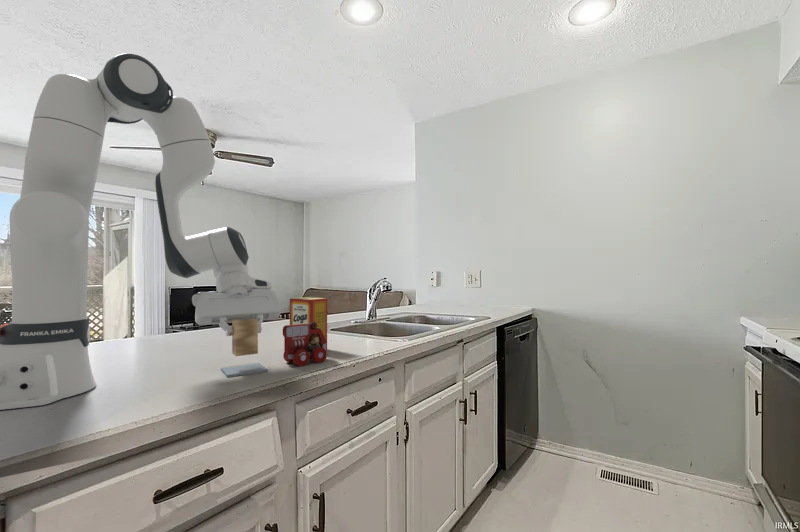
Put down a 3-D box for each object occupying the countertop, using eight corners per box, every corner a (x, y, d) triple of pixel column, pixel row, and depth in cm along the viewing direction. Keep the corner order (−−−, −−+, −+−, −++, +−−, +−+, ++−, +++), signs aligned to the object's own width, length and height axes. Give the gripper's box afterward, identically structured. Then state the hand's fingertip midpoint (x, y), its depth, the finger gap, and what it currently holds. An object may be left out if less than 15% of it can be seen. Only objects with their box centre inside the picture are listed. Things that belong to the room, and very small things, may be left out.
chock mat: (227, 377, 87) (227, 375, 87) (220, 369, 94) (220, 367, 94) (267, 371, 93) (267, 369, 93) (258, 364, 99) (258, 362, 99)
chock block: (235, 356, 90) (235, 322, 91) (232, 353, 94) (232, 320, 94) (257, 353, 93) (257, 320, 93) (253, 350, 97) (253, 318, 97)
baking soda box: (327, 349, 119) (327, 297, 120) (311, 352, 114) (311, 298, 114) (305, 345, 125) (305, 296, 125) (289, 349, 119) (289, 297, 119)
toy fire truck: (333, 360, 104) (333, 322, 104) (290, 368, 95) (290, 326, 95) (319, 356, 109) (319, 319, 109) (277, 364, 100) (277, 323, 101)
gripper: (192, 283, 94) (197, 329, 86) (276, 281, 106) (288, 321, 98) (189, 301, 98) (195, 345, 90) (271, 297, 110) (282, 336, 101)
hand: (244, 333), depth 94 cm, fingers closed on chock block, 5 cm apart
